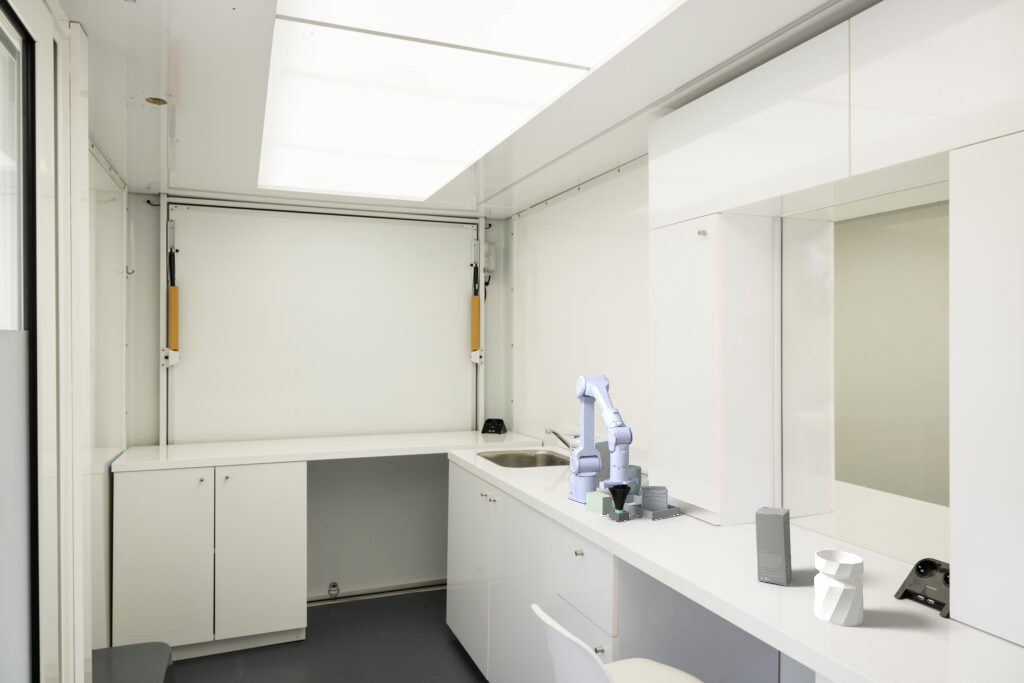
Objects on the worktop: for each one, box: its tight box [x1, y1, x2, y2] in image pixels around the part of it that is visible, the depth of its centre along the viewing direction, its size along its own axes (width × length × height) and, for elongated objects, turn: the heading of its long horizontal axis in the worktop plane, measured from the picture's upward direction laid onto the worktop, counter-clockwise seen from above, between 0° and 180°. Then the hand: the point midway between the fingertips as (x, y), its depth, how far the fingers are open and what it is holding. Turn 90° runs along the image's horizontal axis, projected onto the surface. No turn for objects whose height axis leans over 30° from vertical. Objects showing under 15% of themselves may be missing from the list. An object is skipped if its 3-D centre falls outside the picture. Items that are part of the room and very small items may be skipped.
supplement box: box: [569, 436, 610, 489], centre depth 249 cm, size 13×13×18 cm
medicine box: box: [640, 485, 669, 512], centre depth 204 cm, size 8×4×9 cm, turn 84°
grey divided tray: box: [612, 494, 680, 521], centre depth 208 cm, size 21×12×2 cm, turn 33°
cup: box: [627, 464, 642, 496], centre depth 231 cm, size 8×8×10 cm
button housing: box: [608, 509, 630, 522], centre depth 197 cm, size 4×4×2 cm
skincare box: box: [754, 506, 793, 587], centre depth 147 cm, size 8×7×16 cm
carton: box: [585, 490, 613, 515], centre depth 205 cm, size 8×4×6 cm, turn 33°
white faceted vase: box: [813, 549, 865, 627], centre depth 126 cm, size 9×9×12 cm
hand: (619, 509), depth 197 cm, fingers closed
